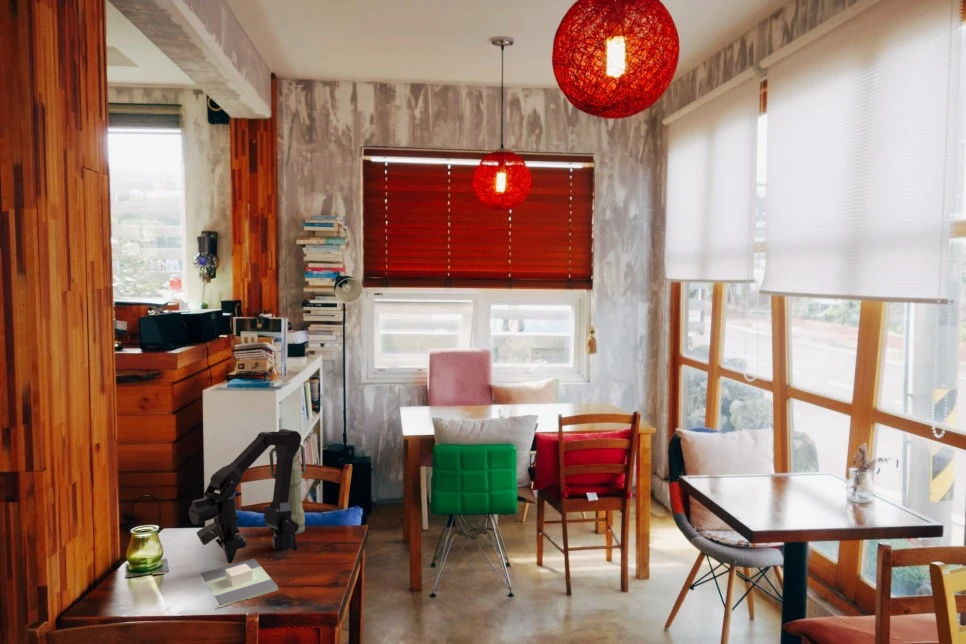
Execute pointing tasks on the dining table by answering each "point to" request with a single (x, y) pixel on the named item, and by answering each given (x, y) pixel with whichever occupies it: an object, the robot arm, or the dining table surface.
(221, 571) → the mats
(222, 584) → the board
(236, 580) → the cream block
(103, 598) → the dining table surface
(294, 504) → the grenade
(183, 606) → the dining table surface
